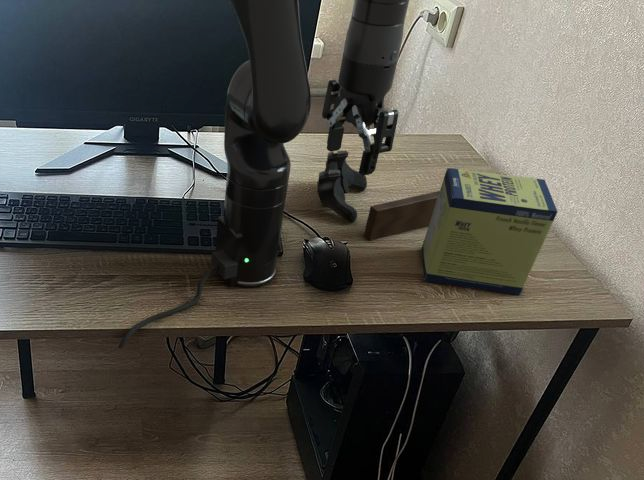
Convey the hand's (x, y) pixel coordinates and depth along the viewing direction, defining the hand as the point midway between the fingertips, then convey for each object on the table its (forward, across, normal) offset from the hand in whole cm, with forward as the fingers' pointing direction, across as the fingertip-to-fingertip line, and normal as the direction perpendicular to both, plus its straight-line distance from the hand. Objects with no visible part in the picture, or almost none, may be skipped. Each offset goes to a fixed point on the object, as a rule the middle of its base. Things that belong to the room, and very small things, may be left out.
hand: (349, 161), depth 107 cm
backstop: (+18, -3, +20) cm, 27 cm away
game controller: (+18, -16, +13) cm, 27 cm away
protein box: (+18, +12, +20) cm, 29 cm away
